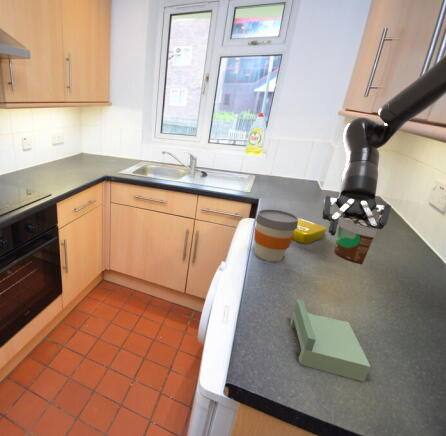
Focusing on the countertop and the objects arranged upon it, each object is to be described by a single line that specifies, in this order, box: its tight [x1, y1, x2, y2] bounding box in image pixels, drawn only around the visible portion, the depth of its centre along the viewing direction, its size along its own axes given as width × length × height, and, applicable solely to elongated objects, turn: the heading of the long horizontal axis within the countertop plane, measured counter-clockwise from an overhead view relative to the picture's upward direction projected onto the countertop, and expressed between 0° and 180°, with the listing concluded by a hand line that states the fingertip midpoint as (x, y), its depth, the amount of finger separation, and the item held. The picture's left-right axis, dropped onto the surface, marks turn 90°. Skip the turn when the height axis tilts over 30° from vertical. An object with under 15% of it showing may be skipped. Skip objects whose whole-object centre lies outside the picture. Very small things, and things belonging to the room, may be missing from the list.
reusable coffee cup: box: [253, 208, 299, 263], centre depth 101 cm, size 13×13×15 cm
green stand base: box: [289, 299, 372, 383], centre depth 63 cm, size 11×13×7 cm
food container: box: [333, 213, 378, 266], centre depth 76 cm, size 12×6×10 cm, turn 157°
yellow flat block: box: [292, 217, 327, 245], centre depth 121 cm, size 15×15×5 cm
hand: (350, 237), depth 74 cm, fingers closed on food container, 6 cm apart
